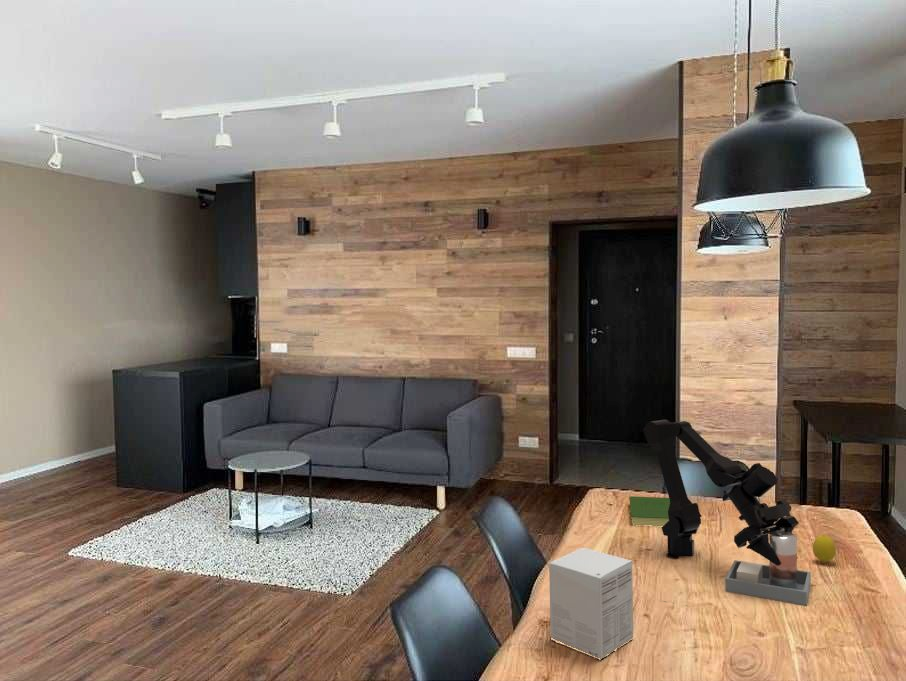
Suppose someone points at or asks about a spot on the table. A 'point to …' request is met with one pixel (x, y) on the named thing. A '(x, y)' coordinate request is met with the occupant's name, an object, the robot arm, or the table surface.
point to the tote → (769, 586)
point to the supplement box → (591, 601)
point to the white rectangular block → (749, 572)
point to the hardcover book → (649, 510)
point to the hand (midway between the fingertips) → (787, 562)
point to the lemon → (824, 548)
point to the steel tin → (784, 559)
